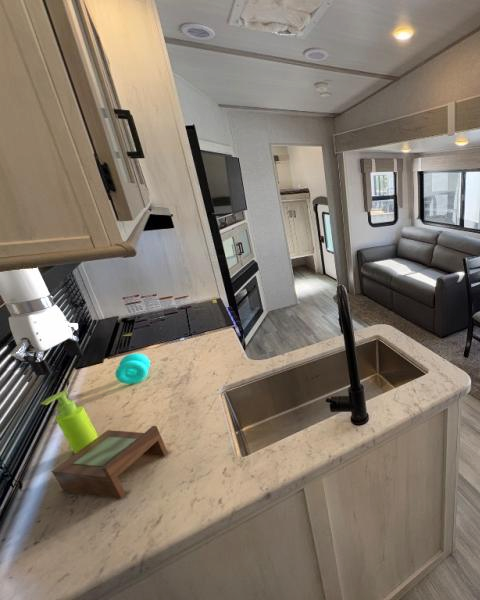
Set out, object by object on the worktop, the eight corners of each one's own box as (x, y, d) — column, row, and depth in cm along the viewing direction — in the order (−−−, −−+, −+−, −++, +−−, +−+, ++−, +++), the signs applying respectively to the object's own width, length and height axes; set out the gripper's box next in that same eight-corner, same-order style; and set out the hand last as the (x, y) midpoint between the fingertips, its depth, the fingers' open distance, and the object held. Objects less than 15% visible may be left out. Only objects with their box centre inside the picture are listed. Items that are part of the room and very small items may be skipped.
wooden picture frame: (63, 491, 80) (45, 462, 77) (117, 448, 93) (103, 421, 90) (121, 498, 78) (105, 468, 74) (168, 453, 90) (156, 425, 87)
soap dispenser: (65, 456, 92) (34, 401, 85) (92, 438, 98) (64, 386, 91) (79, 459, 90) (48, 403, 83) (105, 441, 96) (78, 388, 89)
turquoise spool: (153, 369, 136) (146, 349, 132) (150, 380, 128) (142, 359, 124) (125, 377, 131) (116, 356, 128) (120, 388, 123) (110, 367, 119)
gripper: (46, 295, 85) (72, 350, 90) (-26, 320, 68) (12, 385, 74) (77, 293, 85) (100, 347, 91) (13, 317, 69) (47, 381, 75)
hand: (61, 364), depth 83 cm, fingers open, 9 cm apart
